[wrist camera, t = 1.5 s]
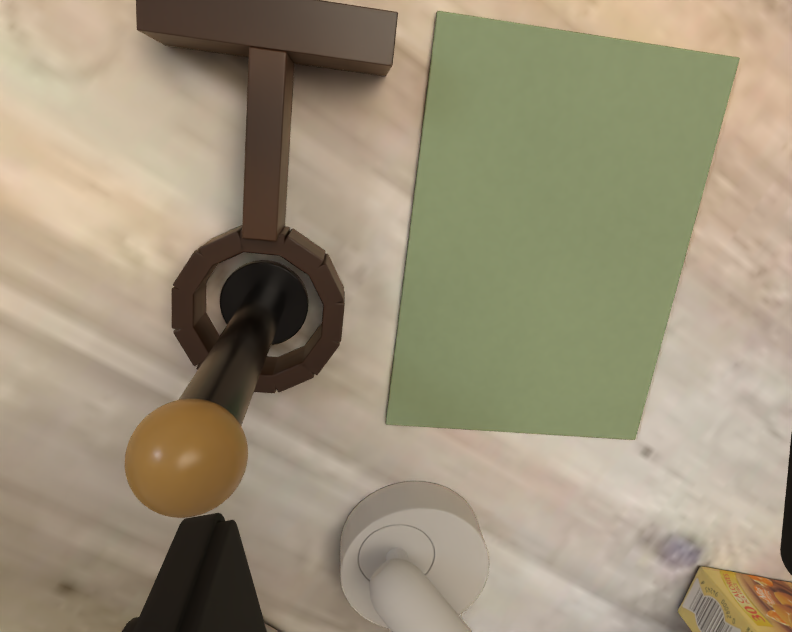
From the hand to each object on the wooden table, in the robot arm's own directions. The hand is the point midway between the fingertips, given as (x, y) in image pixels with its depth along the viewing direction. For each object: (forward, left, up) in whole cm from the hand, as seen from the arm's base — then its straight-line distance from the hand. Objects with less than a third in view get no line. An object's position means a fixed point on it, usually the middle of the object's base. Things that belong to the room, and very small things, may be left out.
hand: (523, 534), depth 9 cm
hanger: (-7, +2, -20) cm, 22 cm away
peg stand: (-7, -2, -20) cm, 22 cm away
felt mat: (+8, +2, -20) cm, 22 cm away
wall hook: (+3, -17, -21) cm, 27 cm away
